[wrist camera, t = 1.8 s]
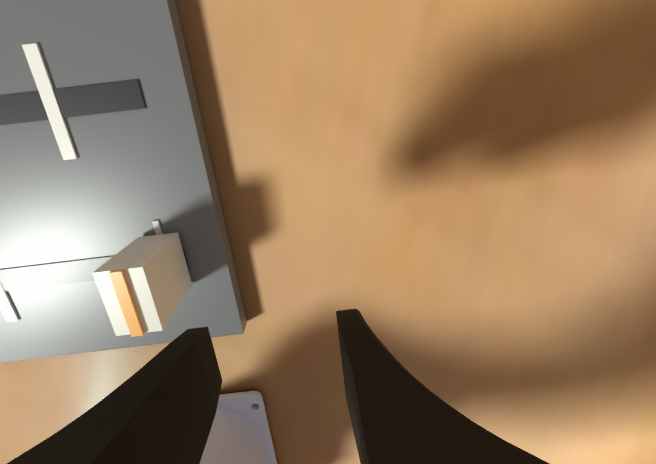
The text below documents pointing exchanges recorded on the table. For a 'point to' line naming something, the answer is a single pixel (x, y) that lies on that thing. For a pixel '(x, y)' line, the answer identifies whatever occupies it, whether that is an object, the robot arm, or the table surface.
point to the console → (101, 172)
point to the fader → (144, 284)
